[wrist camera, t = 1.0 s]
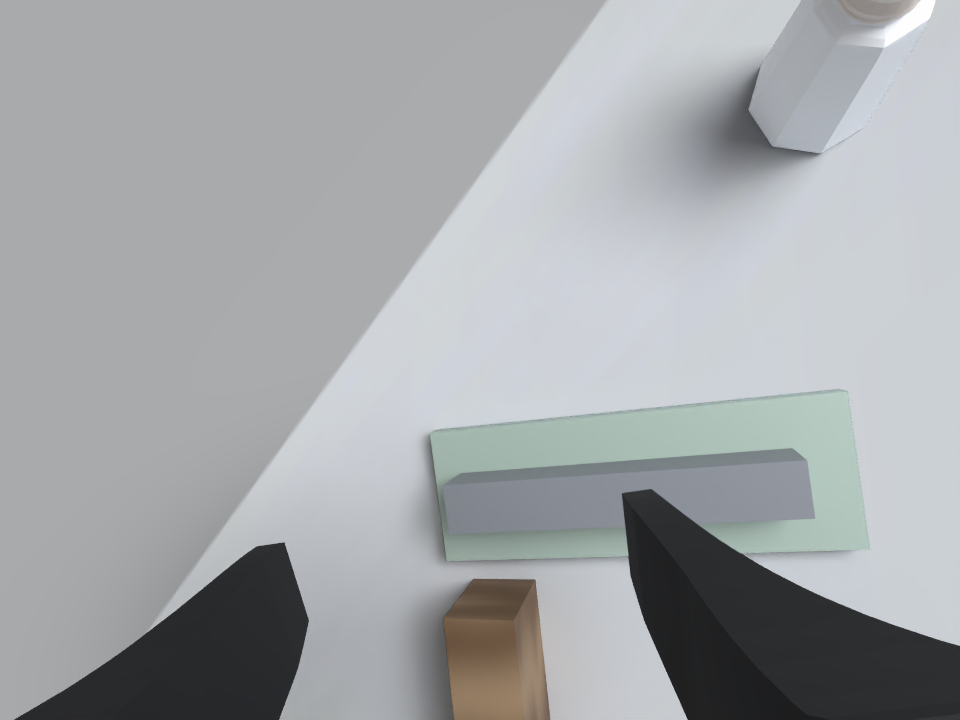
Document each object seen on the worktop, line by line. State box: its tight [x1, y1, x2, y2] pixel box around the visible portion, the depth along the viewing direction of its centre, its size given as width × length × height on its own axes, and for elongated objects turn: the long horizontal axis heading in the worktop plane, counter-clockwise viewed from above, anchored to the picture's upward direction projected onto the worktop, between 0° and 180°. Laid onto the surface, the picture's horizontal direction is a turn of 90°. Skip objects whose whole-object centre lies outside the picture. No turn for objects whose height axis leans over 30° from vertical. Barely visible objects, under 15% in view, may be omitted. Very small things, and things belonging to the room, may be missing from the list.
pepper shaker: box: [748, 0, 935, 153], centre depth 21 cm, size 5×5×11 cm
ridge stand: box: [430, 389, 870, 561], centre depth 28 cm, size 7×20×4 cm, turn 98°
